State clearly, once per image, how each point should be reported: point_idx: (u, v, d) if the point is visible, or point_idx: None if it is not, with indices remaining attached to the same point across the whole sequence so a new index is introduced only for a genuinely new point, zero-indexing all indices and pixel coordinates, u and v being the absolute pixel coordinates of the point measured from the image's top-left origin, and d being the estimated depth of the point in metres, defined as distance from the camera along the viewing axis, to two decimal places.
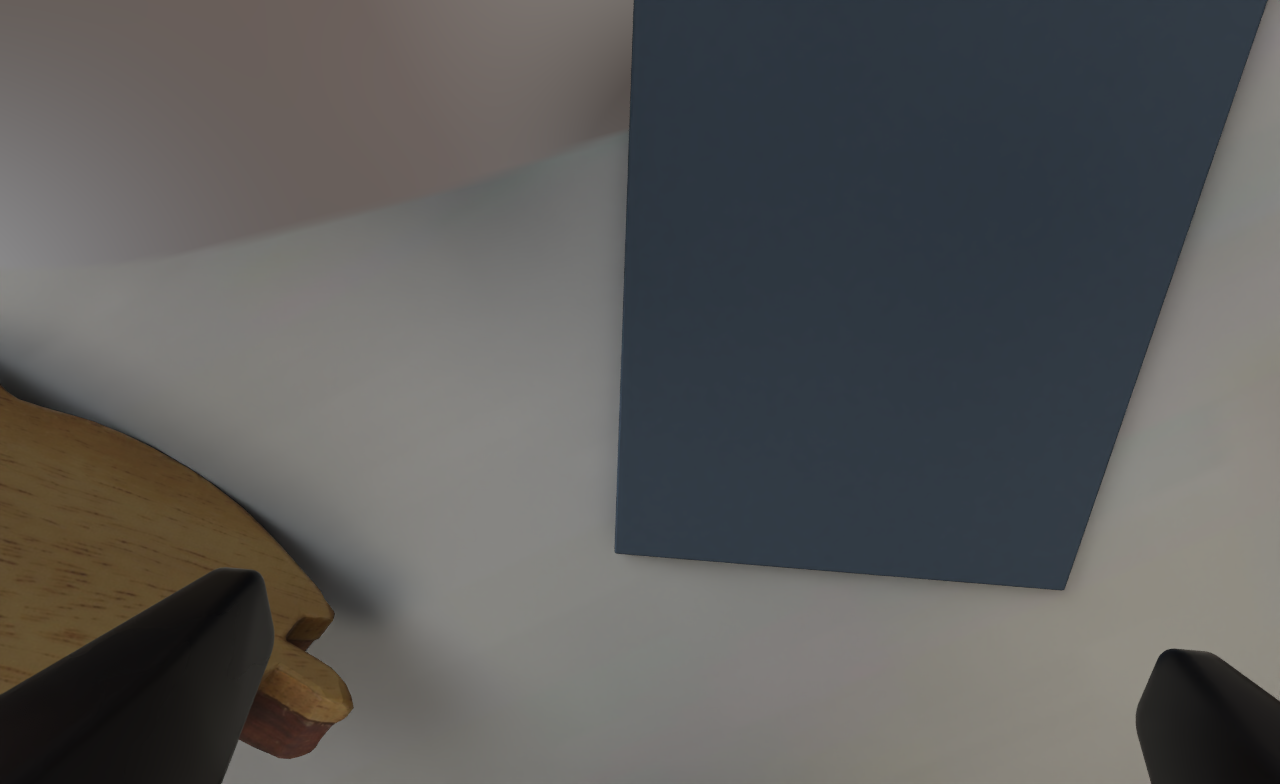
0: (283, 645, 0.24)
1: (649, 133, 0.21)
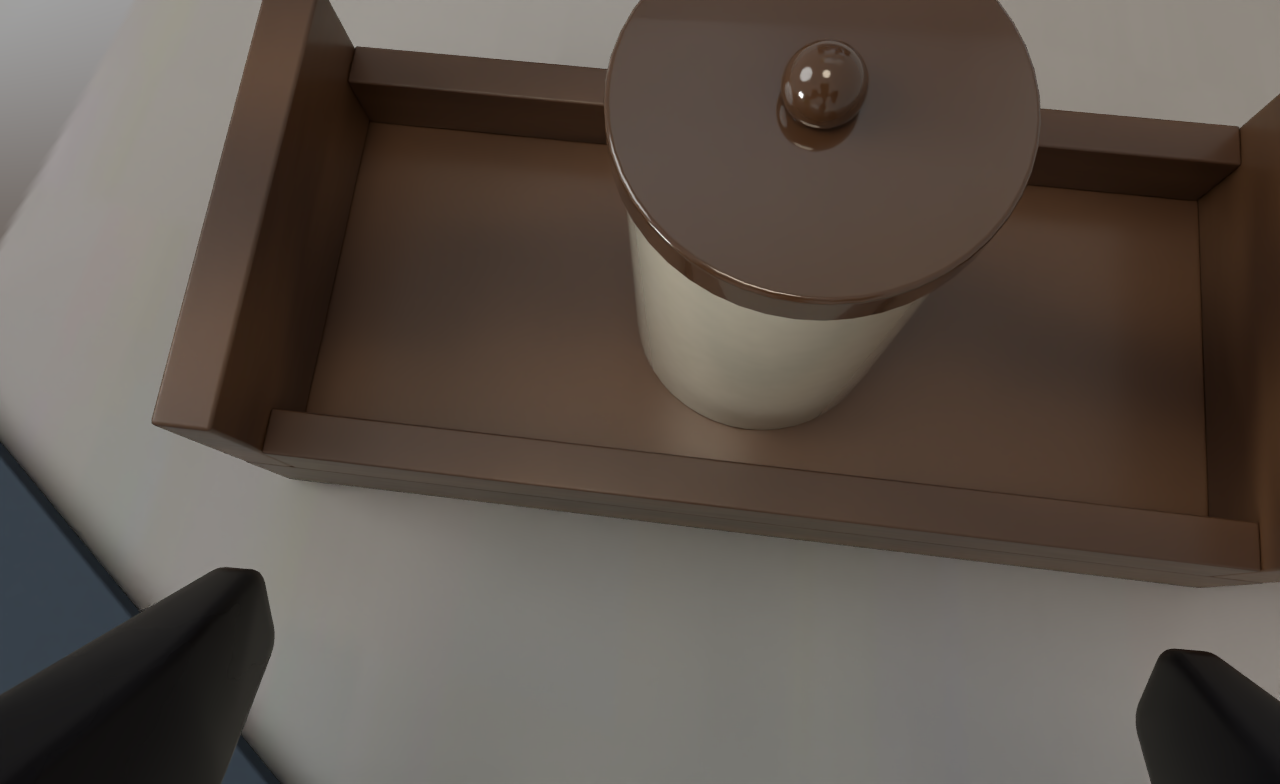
0: None
1: None
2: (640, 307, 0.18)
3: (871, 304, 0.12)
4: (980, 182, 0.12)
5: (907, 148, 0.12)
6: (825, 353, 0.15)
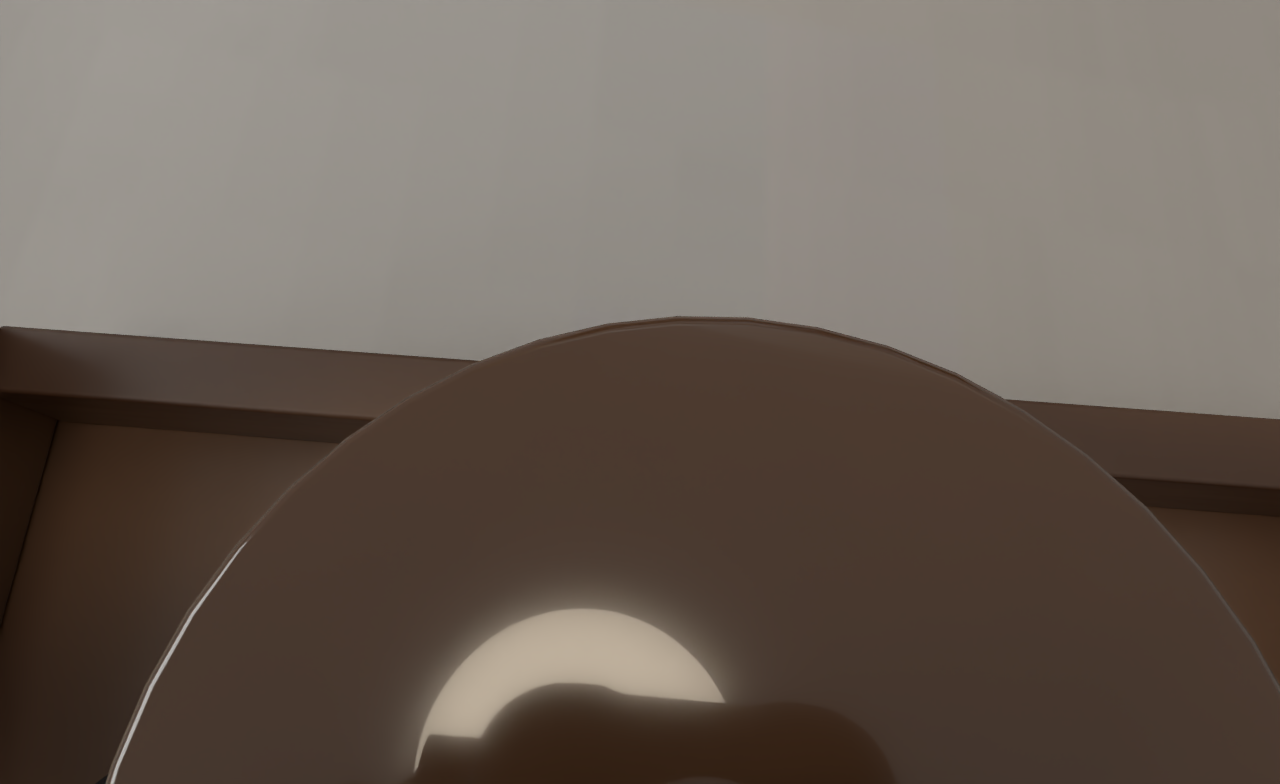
0: None
1: None
2: None
3: None
4: None
5: None
6: None
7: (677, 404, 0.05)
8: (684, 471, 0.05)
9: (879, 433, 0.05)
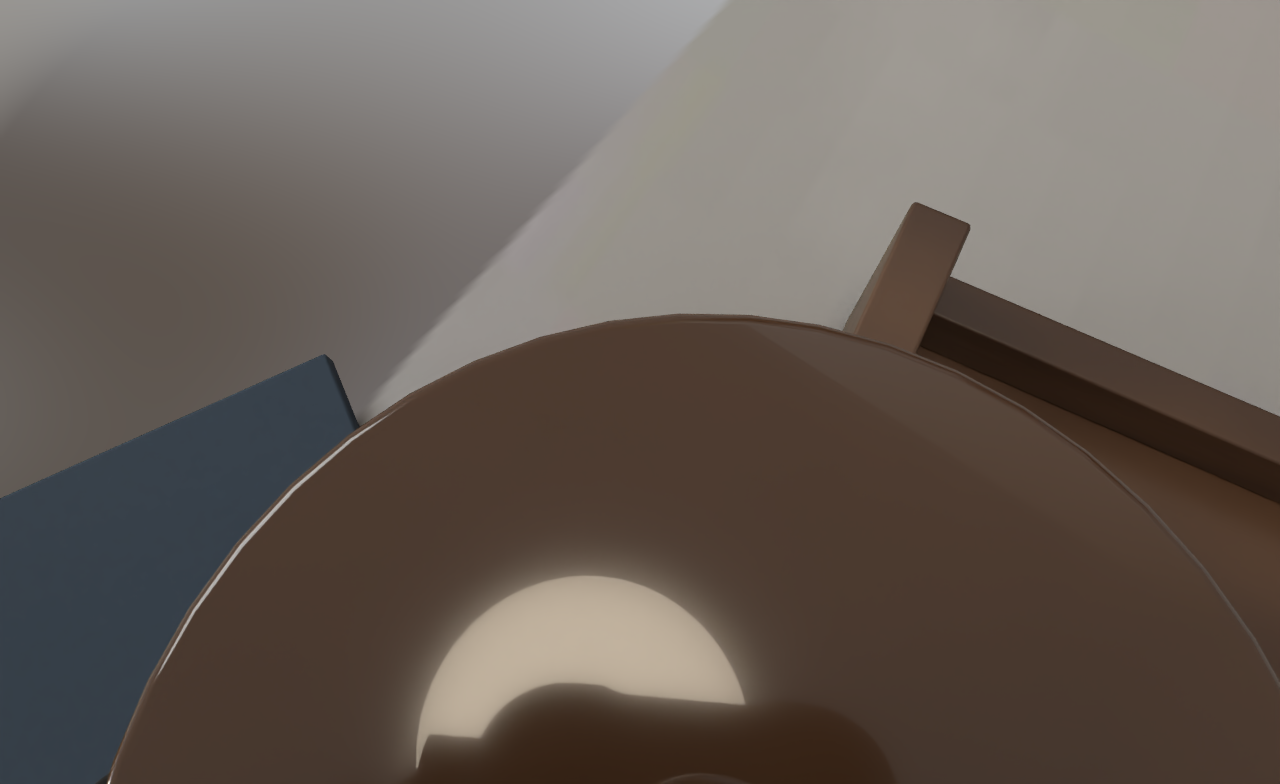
0: None
1: None
2: None
3: None
4: None
5: None
6: None
7: (678, 401, 0.05)
8: (686, 469, 0.05)
9: (880, 430, 0.05)
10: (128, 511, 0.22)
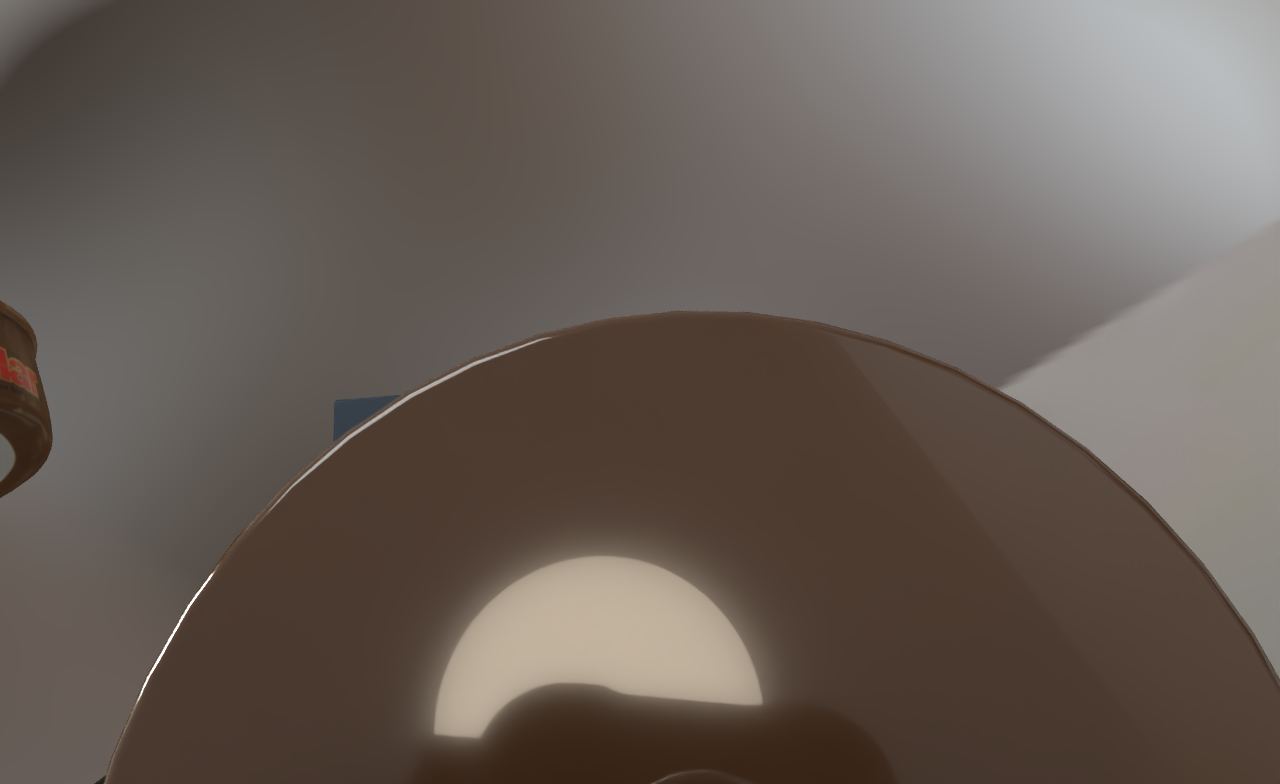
0: None
1: None
2: None
3: None
4: None
5: None
6: None
7: (677, 398, 0.05)
8: (684, 465, 0.05)
9: (879, 427, 0.05)
10: None
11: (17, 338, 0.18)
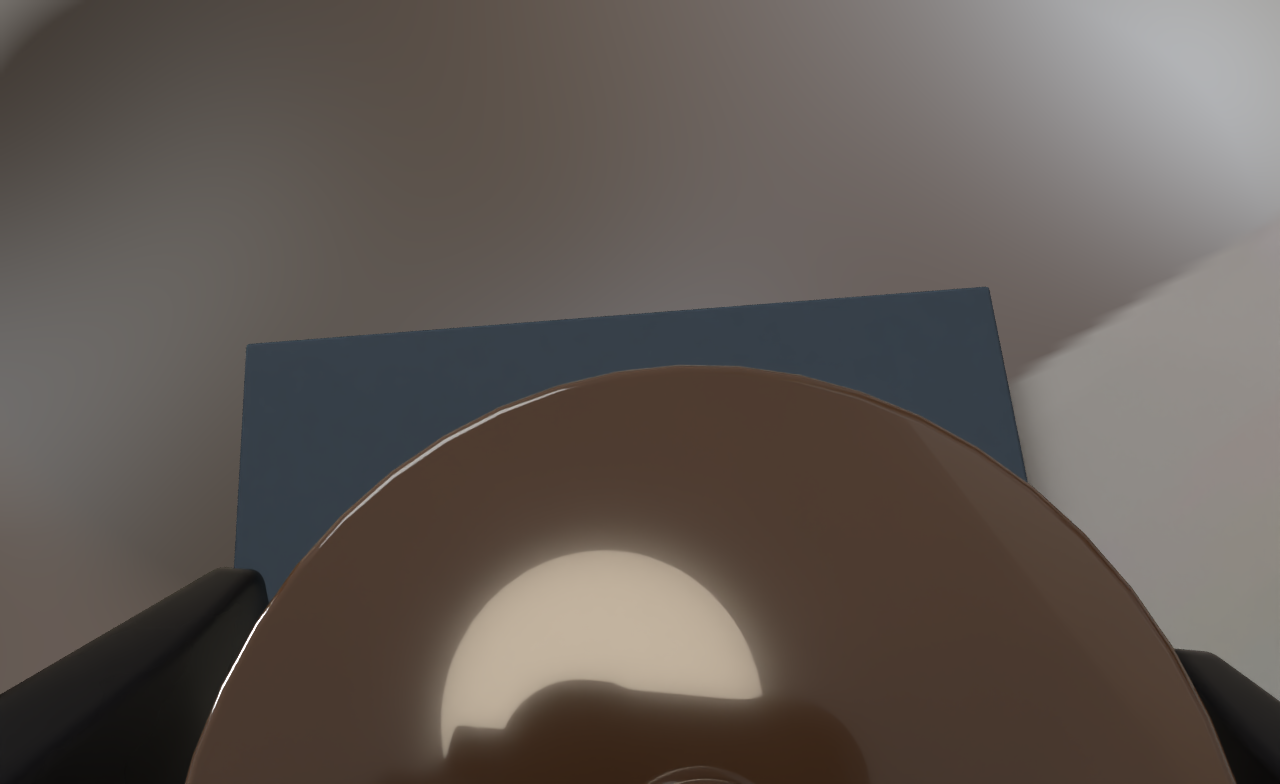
0: None
1: None
2: None
3: None
4: None
5: None
6: None
7: (678, 442, 0.06)
8: (683, 504, 0.06)
9: (853, 468, 0.06)
10: None
11: None
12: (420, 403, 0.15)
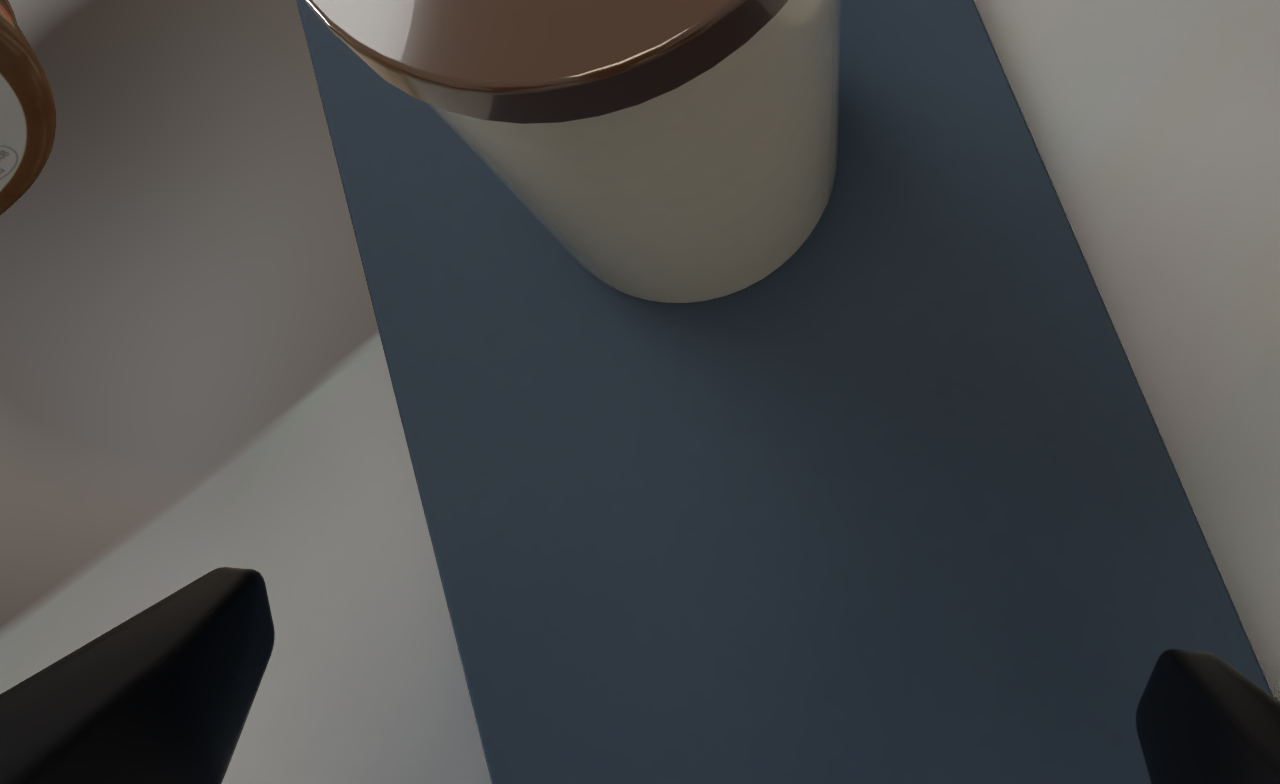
0: None
1: (393, 306, 0.18)
2: None
3: (684, 54, 0.08)
4: None
5: None
6: (706, 162, 0.11)
7: None
8: None
9: None
10: None
11: None
12: None
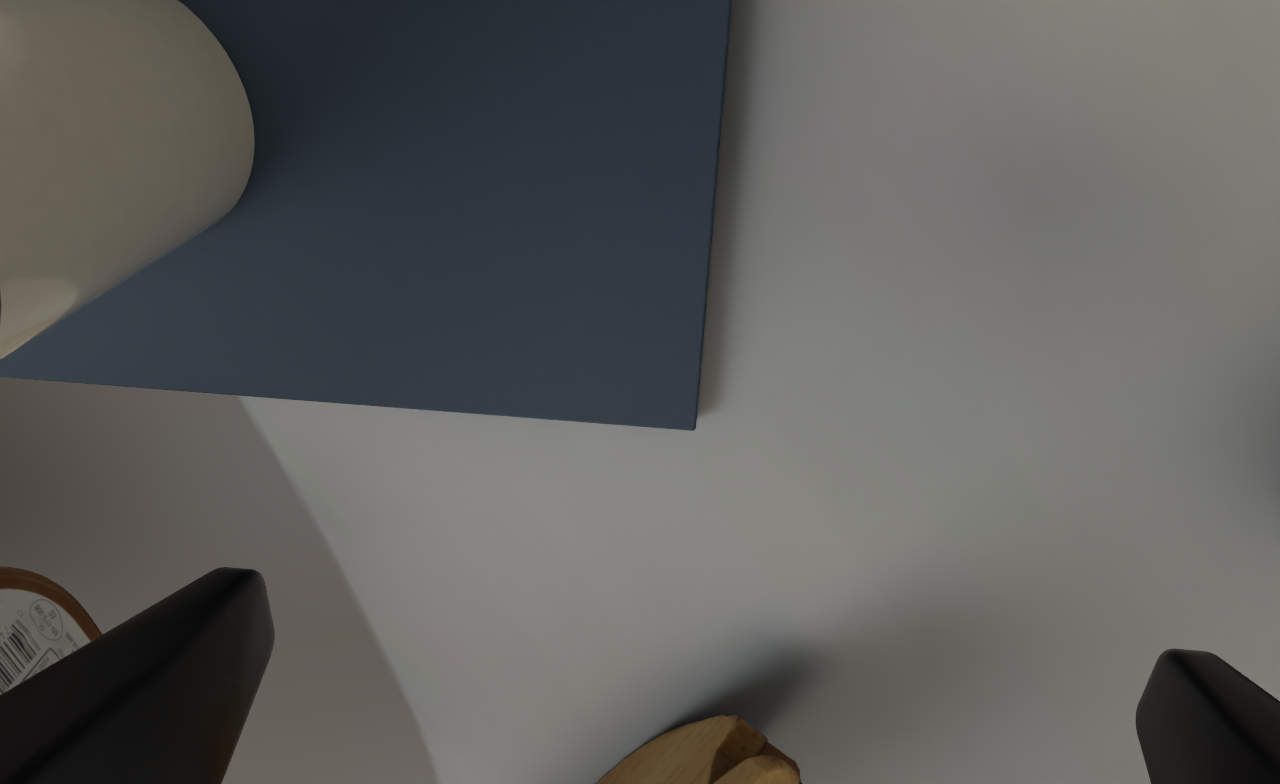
0: None
1: (212, 378, 0.23)
2: None
3: None
4: None
5: None
6: (76, 176, 0.14)
7: None
8: None
9: None
10: None
11: None
12: None
